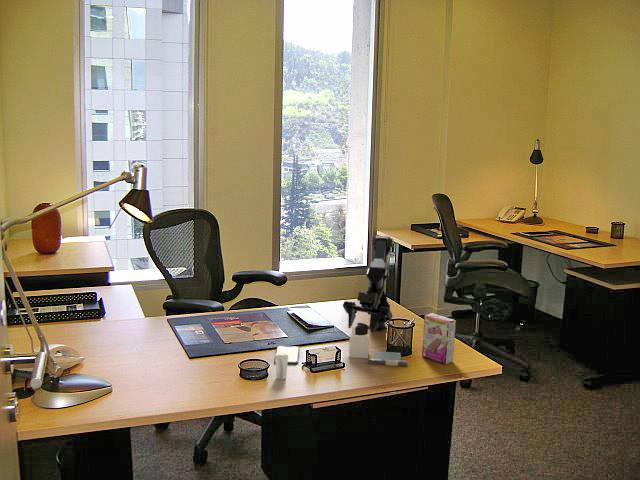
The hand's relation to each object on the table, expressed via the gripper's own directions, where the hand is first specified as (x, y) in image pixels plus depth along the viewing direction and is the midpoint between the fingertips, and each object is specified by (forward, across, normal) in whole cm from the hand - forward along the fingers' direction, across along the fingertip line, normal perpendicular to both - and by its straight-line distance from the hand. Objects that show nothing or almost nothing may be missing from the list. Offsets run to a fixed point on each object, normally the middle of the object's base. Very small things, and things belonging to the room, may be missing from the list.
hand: (360, 329), depth 263 cm
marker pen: (+9, +13, +5) cm, 16 cm away
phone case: (+19, -22, -4) cm, 29 cm away
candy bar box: (-1, +27, +15) cm, 31 cm away
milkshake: (+32, -14, -18) cm, 39 cm away
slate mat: (+5, +10, +9) cm, 14 cm away
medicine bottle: (+7, 0, +7) cm, 10 cm away
